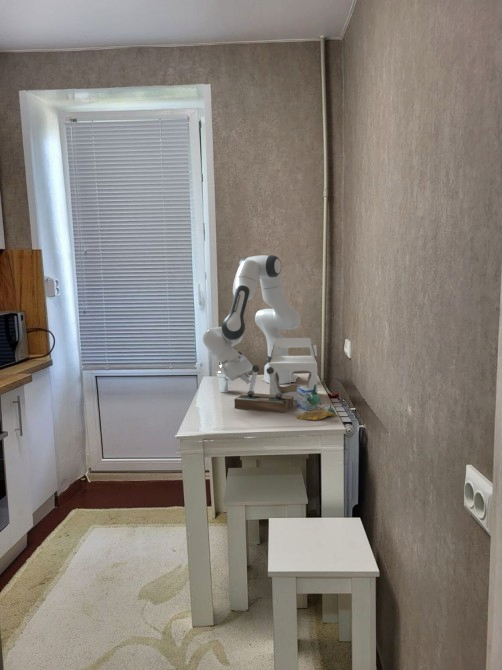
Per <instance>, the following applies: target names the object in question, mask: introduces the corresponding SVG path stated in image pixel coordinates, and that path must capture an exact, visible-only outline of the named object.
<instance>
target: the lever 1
mask: <svg viewBox="0 0 502 670" xmlns="http://www.w3.org/2000/svg"><path fill="white" fill-rule="evenodd" d="M252 366H253V367H252V370H251V371H252V373H251V377H250V378H251V382H250V383H249V390H248V391H247V392H246V393H247V395H248V396H250V397H251V396H252V395H254V393H255V387H256V382H257V377H258V372H259V371H260V366H259V365H258V364H255V365H252Z"/></svg>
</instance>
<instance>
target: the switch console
mask: <svg viewBox="0 0 502 670" xmlns="http://www.w3.org/2000/svg"><path fill="white" fill-rule="evenodd" d="M247 393H248V392H243V393H242V394H241V395H239V396H236V398H234V409H243V410H252V411H261V412H273V413H275V412H276V413H283V414H285V413H287V412H288V411H289V410H290V409H291V408H292V407H293V406H294V400H293V396H282V397H281V398H280V399H277V398H276V395H270V393H268V394H267V393H254V395H252V396H251V397H250V396H248V395H247Z"/></svg>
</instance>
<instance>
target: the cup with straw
mask: <svg viewBox="0 0 502 670" xmlns="http://www.w3.org/2000/svg"><path fill="white" fill-rule="evenodd" d="M215 374H216V378H217V381H218V388H219V392H220V393H228V392H230V381H231V380H230V379H229V378H228V377H227V376H226V374H225V373H224V371H223V370H222V366H221V364H219V365H218V366H217V367H216V370H215Z"/></svg>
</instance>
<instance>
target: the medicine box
mask: <svg viewBox="0 0 502 670" xmlns="http://www.w3.org/2000/svg"><path fill="white" fill-rule="evenodd" d="M300 386H301V385H300ZM309 390H310V393H312V392H313V390H312V389H310V388H308V387H307V385H305V386H304V385H303V386H301V387H297V400H296V406H297V407H298V408H300V409H302V410H303V411H304V412H307V409H308V411H310V409H311V411H314V410H315V407H313V405H312V406H311V405H310V403H309V401H308V400H307V398H308V396H309ZM305 401H306V402H307V403H305ZM308 403H309V404H308ZM308 406H311V407H312V408H311V407H309V408H308Z"/></svg>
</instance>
